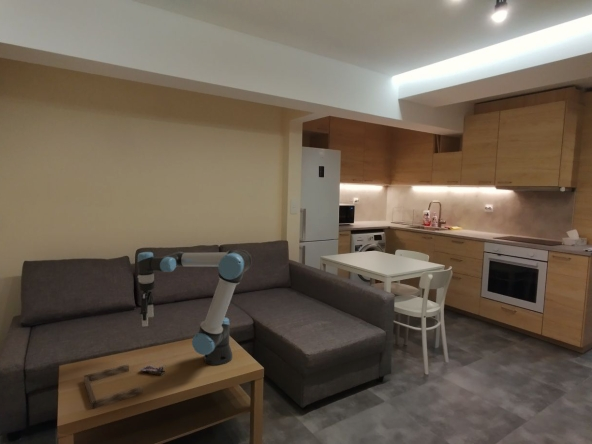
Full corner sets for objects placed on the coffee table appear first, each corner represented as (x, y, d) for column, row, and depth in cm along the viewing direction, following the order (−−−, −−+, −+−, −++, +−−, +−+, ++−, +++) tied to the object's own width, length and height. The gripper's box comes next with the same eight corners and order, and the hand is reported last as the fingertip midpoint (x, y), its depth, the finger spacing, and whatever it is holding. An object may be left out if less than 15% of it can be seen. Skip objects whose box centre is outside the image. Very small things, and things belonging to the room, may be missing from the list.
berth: (128, 369, 180) (128, 364, 180) (141, 394, 159) (141, 388, 159) (84, 381, 169) (83, 375, 168) (92, 410, 147) (92, 403, 147)
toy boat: (137, 372, 177) (138, 364, 177) (145, 367, 183) (145, 359, 183) (159, 376, 174) (159, 368, 173) (166, 372, 179) (167, 364, 179)
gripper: (144, 276, 195) (145, 313, 197) (132, 288, 171) (134, 330, 173) (158, 276, 197) (159, 313, 198) (149, 287, 172) (150, 329, 174)
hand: (148, 321), depth 185 cm, fingers open, 13 cm apart
